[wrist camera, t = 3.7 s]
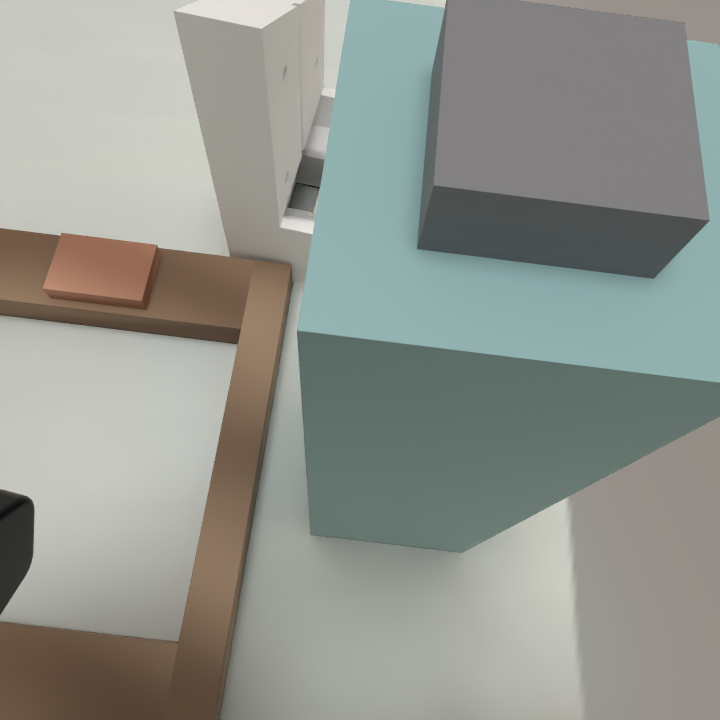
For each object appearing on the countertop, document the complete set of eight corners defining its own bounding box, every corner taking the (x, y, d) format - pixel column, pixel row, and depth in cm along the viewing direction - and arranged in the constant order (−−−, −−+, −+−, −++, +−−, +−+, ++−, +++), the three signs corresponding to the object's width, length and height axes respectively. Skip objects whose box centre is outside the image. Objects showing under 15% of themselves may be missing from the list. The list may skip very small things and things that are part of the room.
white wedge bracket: (179, 352, 18) (173, 10, 13) (270, 211, 26) (289, -36, 21) (304, 380, 18) (350, 46, 13) (358, 230, 26) (399, -14, 21)
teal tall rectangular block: (462, 552, 19) (852, 346, 5) (310, 534, 19) (294, 276, 5) (468, 408, 21) (771, -35, 7) (329, 391, 21) (356, -91, 7)
